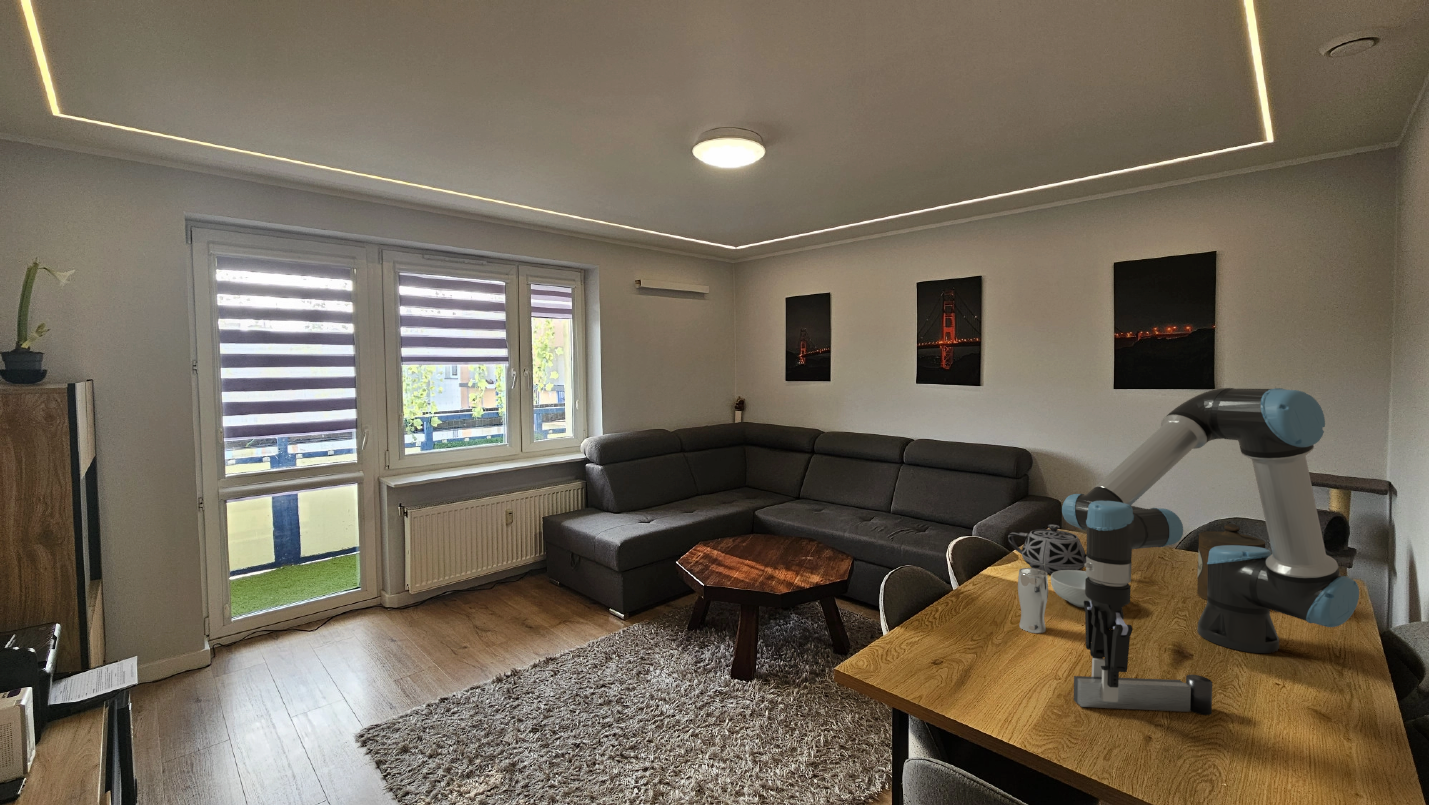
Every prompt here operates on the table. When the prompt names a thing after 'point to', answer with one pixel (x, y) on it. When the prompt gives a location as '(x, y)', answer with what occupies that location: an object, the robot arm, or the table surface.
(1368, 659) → the table surface
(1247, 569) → the robot arm
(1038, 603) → the beer glass
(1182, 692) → the bar
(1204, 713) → the blade
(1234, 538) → the brown lidded jar
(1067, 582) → the cereal bowl
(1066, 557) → the teapot
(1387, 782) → the table surface
